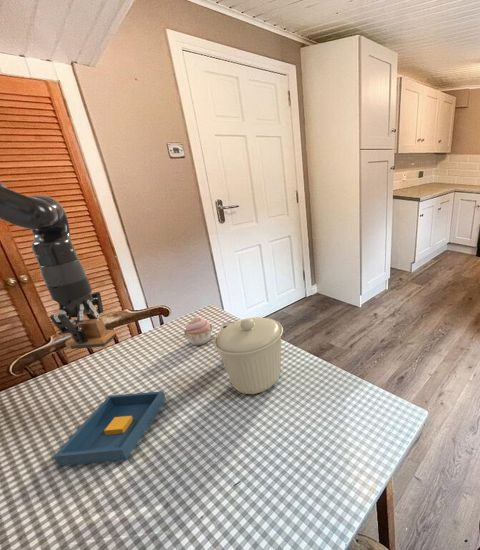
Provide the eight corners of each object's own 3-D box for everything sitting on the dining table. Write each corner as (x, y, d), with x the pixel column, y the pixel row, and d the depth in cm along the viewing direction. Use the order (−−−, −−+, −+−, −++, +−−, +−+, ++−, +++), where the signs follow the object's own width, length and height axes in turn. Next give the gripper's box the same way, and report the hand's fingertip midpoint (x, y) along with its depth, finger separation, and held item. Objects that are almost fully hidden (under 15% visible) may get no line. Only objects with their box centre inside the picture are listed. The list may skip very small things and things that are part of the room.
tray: (59, 468, 65) (53, 456, 64) (113, 405, 82) (109, 395, 80) (127, 461, 67) (122, 449, 65) (166, 401, 83) (163, 391, 82)
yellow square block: (105, 435, 72) (103, 430, 72) (116, 421, 76) (114, 417, 76) (123, 433, 73) (121, 428, 72) (133, 420, 76) (131, 415, 76)
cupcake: (203, 350, 104) (196, 325, 101) (180, 346, 107) (173, 321, 103) (221, 335, 113) (215, 311, 109) (199, 332, 115) (194, 309, 111)
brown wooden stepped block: (68, 350, 79) (57, 328, 77) (82, 339, 84) (72, 318, 82) (105, 347, 81) (96, 325, 78) (117, 336, 85) (109, 315, 83)
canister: (242, 415, 78) (227, 347, 70) (214, 381, 90) (199, 320, 82) (300, 380, 90) (293, 318, 82) (269, 354, 102) (261, 298, 94)
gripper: (71, 269, 81) (93, 324, 88) (23, 291, 68) (53, 354, 74) (102, 267, 82) (121, 322, 88) (59, 289, 69) (86, 351, 75)
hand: (90, 336), depth 81 cm, fingers closed on brown wooden stepped block, 5 cm apart
